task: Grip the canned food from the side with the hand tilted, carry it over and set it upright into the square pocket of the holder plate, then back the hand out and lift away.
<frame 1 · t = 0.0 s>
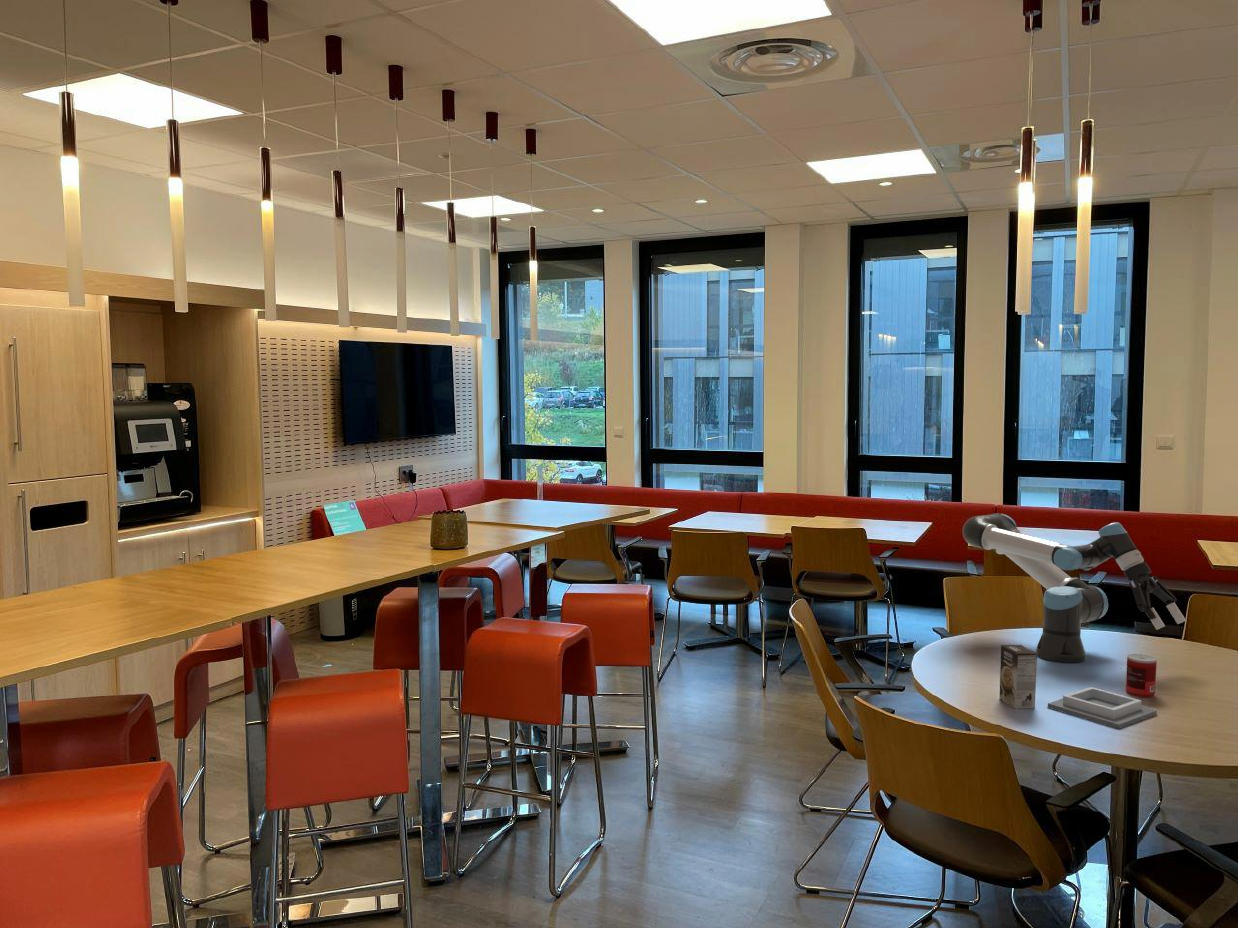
hand: (1171, 625, 291), 15 cm above the table, tool tilted 35°, fingers open, 13 cm apart
end holder: (1101, 710, 255), on the table
coffee box: (1016, 703, 261), on the table
canned food: (1140, 694, 270), on the table
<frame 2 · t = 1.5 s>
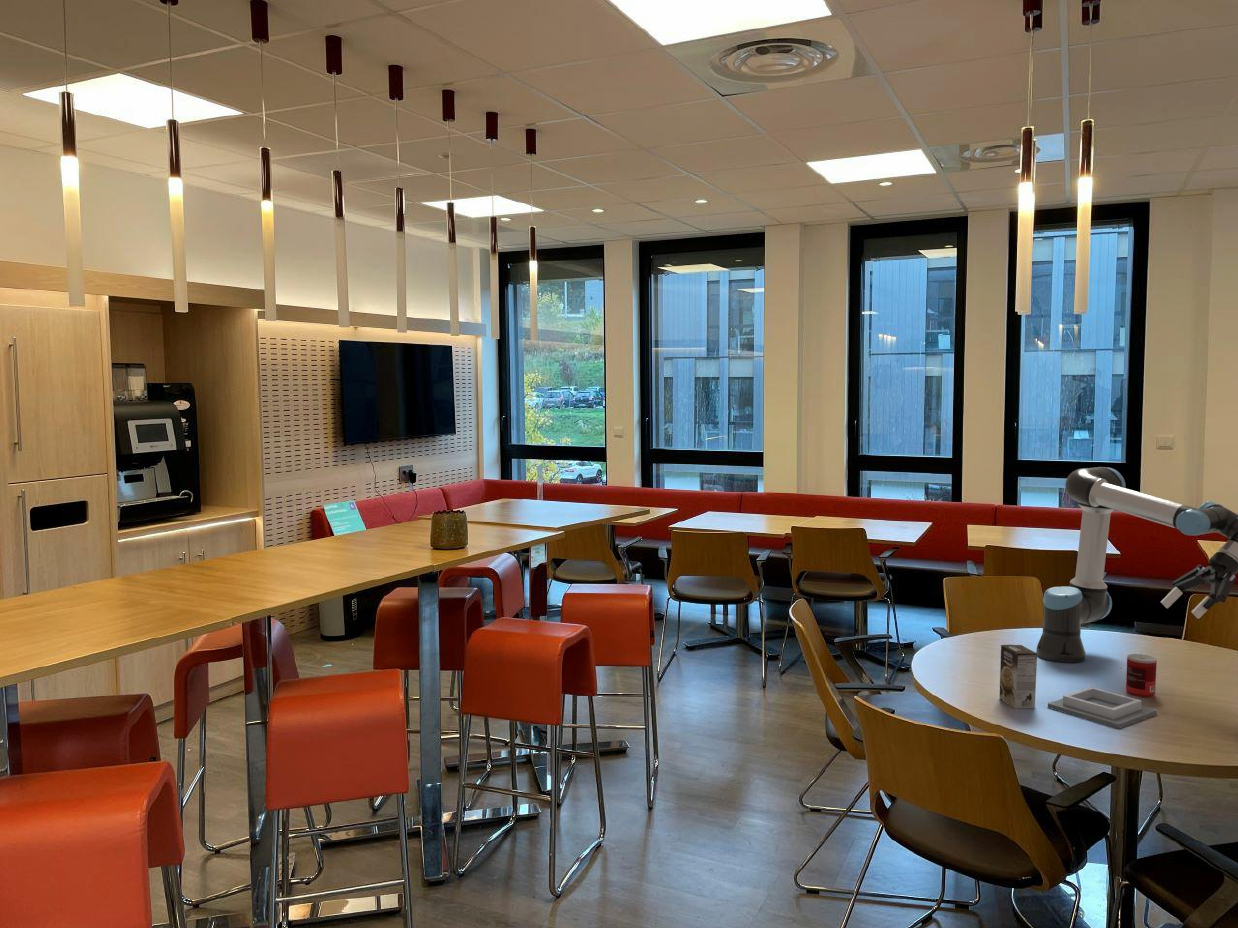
hand: (1179, 610, 269), 25 cm above the table, tool tilted 45°, fingers open, 13 cm apart
nothing on the table moved.
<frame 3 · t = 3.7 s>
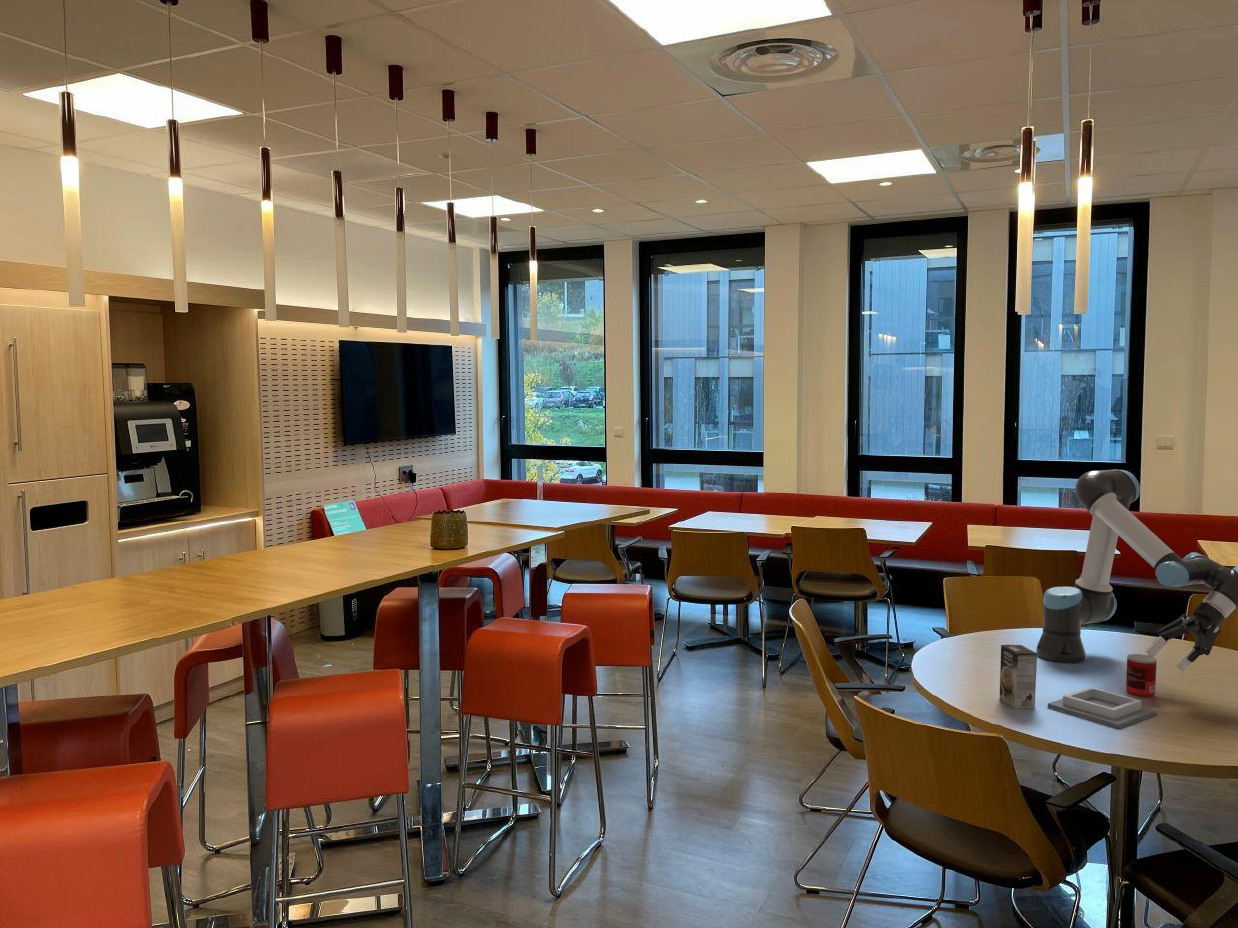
hand: (1163, 661, 268), 10 cm above the table, tool tilted 45°, fingers open, 13 cm apart
nothing on the table moved.
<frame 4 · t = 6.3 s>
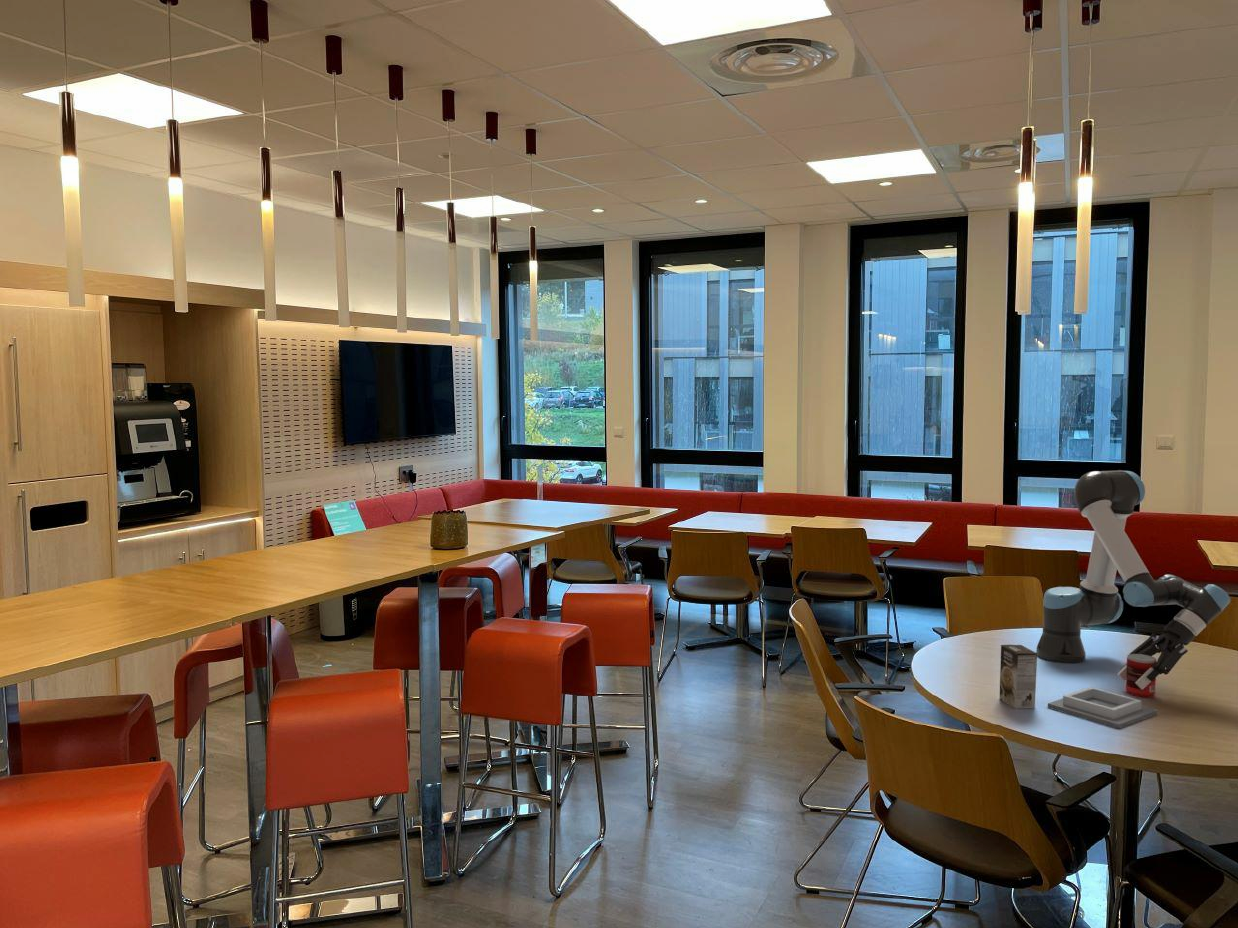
hand: (1129, 681, 269), 4 cm above the table, tool tilted 45°, fingers closed on canned food, 8 cm apart
canned food: (1140, 694, 270), on the table, touching gripper
everything else where it was.
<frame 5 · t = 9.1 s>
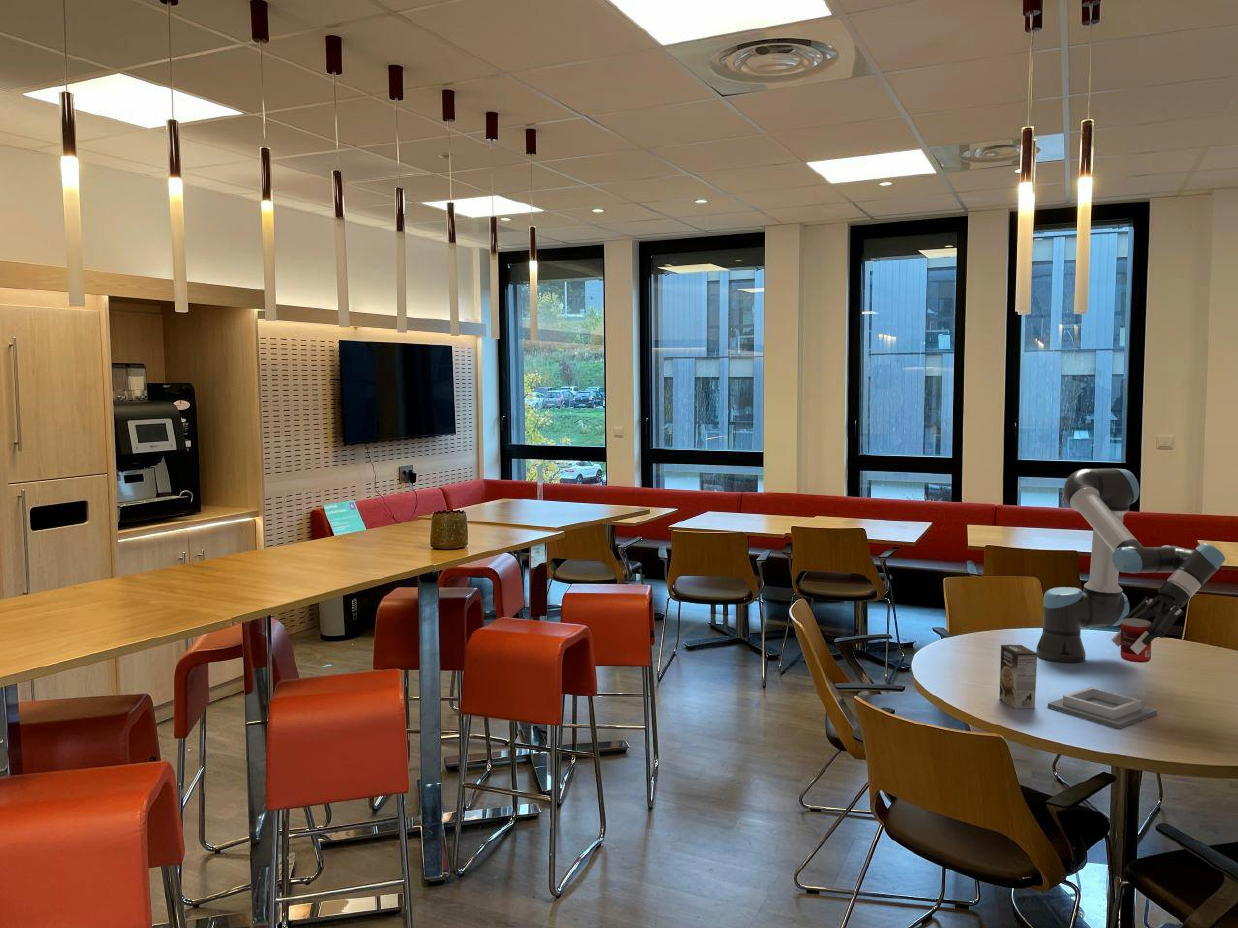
hand: (1124, 647, 259), 17 cm above the table, tool tilted 45°, fingers closed on canned food, 8 cm apart
canned food: (1135, 659, 260), point 13 cm above the table, touching gripper
everything else where it was.
when the fingers open (6 cm above the table, at t = 12.3 s): canned food drops 1 cm, resting on end holder.
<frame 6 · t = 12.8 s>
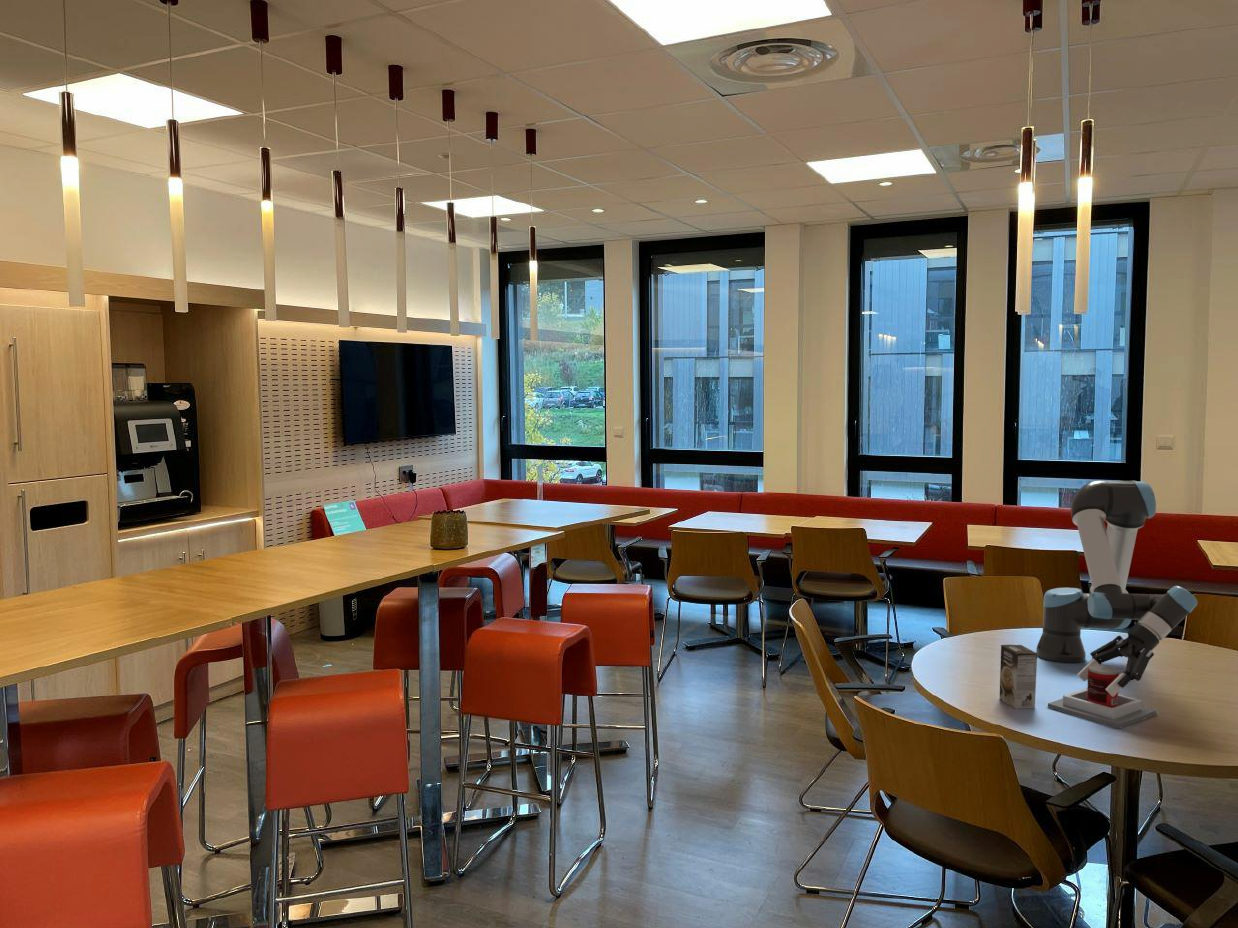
hand: (1094, 685, 254), 7 cm above the table, tool tilted 45°, fingers open, 13 cm apart
canned food: (1102, 707, 255), point 1 cm above the table, touching end holder
everything else where it was.
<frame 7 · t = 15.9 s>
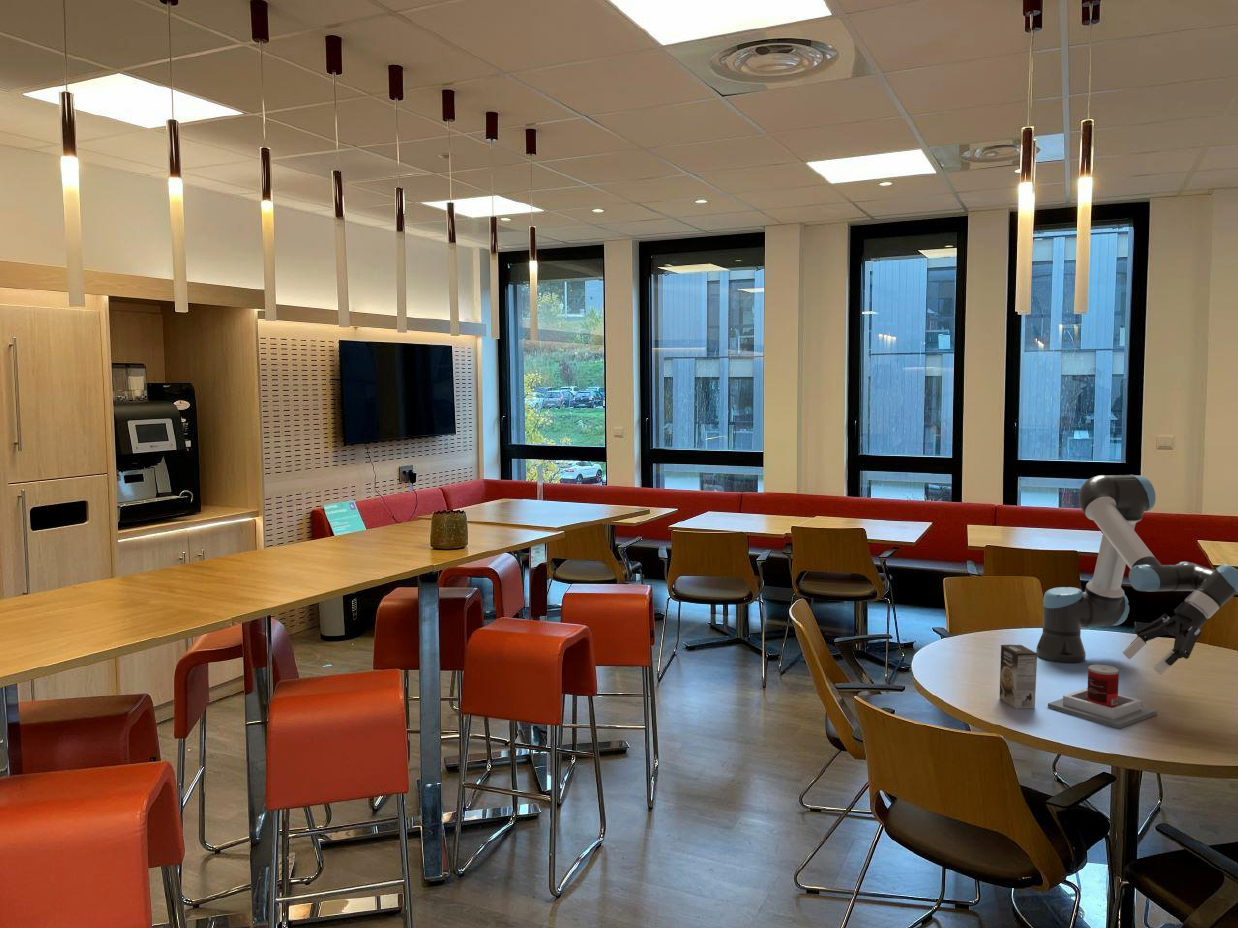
hand: (1140, 663, 254), 14 cm above the table, tool tilted 45°, fingers open, 13 cm apart
nothing on the table moved.
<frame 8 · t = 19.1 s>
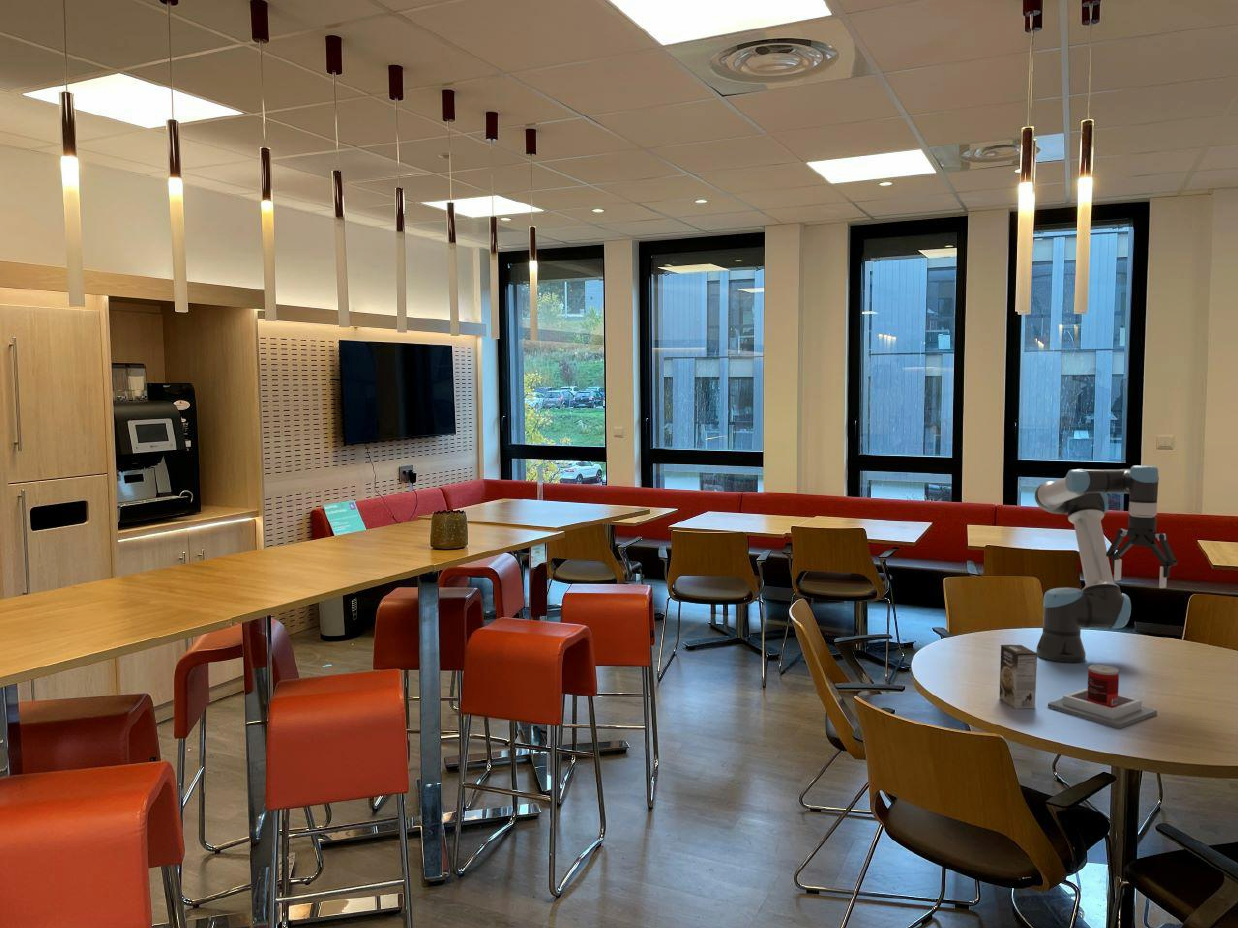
hand: (1139, 583, 280), 31 cm above the table, tool pointing down, fingers open, 13 cm apart
nothing on the table moved.
at the end: canned food 0.1 cm off-centre on the end holder, point 1.0 cm above the end holder's base; canned food tilted 0°; the gripper is holding nothing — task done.
